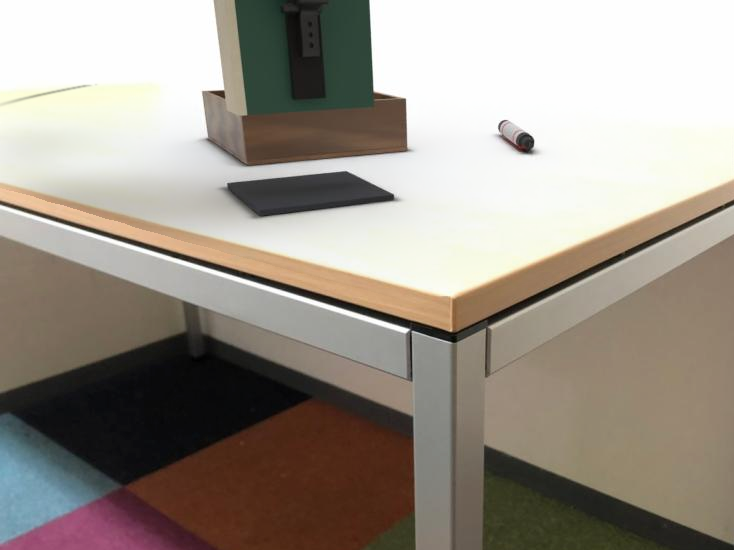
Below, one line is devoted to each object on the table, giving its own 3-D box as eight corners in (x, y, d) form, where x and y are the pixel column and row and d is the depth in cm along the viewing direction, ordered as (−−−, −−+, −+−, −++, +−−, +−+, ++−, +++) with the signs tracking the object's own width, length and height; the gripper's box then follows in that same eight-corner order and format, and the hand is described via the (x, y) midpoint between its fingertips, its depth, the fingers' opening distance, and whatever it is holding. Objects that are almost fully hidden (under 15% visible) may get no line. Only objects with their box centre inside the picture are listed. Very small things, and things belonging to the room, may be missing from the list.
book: (226, 110, 64) (209, -32, 60) (358, 102, 69) (350, -29, 65) (237, 115, 61) (220, -34, 57) (374, 107, 66) (368, -31, 62)
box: (207, 138, 98) (201, 90, 96) (345, 128, 106) (343, 84, 104) (247, 165, 81) (240, 108, 78) (407, 150, 89) (406, 98, 87)
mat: (227, 188, 71) (226, 182, 70) (346, 175, 76) (346, 170, 75) (259, 216, 61) (259, 210, 61) (394, 199, 66) (394, 194, 66)
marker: (497, 135, 100) (498, 119, 99) (512, 134, 100) (512, 119, 99) (522, 155, 86) (523, 137, 85) (539, 154, 86) (540, 137, 86)
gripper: (362, -260, 50) (378, 102, 59) (289, -200, 64) (311, 86, 73) (251, -277, 47) (286, 108, 56) (199, -211, 61) (234, 90, 70)
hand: (300, 95), depth 65 cm, fingers closed on book, 4 cm apart
